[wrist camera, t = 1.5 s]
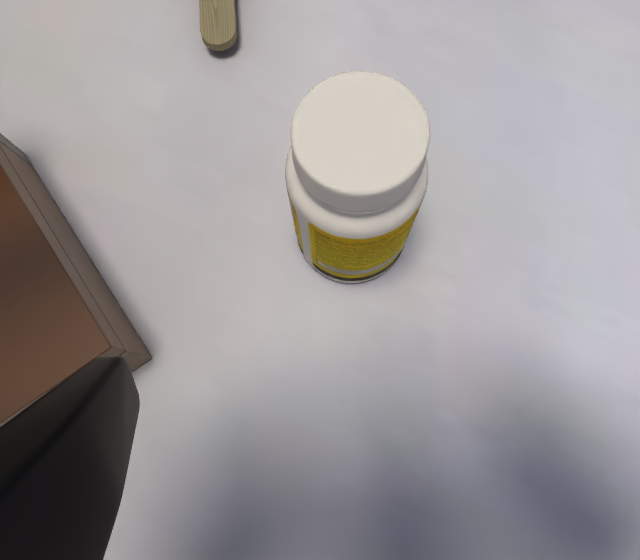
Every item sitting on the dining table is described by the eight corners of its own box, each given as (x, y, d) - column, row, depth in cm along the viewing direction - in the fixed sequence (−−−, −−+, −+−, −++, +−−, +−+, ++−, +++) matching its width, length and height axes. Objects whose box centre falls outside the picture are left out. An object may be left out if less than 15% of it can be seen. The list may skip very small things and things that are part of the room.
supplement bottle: (425, 244, 22) (481, 146, 14) (340, 306, 21) (345, 243, 13) (359, 165, 23) (374, 30, 15) (276, 222, 22) (243, 115, 14)
